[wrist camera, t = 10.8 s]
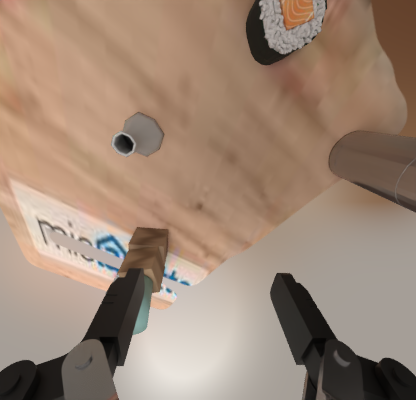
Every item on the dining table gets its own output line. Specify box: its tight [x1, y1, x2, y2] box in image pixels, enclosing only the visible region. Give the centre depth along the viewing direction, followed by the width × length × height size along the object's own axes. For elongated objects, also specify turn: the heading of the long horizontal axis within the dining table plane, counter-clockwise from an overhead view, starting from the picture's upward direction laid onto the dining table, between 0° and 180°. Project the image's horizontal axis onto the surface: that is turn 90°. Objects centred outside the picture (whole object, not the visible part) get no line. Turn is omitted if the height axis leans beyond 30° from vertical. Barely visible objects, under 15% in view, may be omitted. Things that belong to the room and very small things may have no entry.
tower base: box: [128, 227, 168, 266], centre depth 42 cm, size 7×7×6 cm
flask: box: [111, 112, 164, 157], centre depth 29 cm, size 7×7×10 cm
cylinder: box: [133, 276, 153, 335], centre depth 30 cm, size 5×5×7 cm
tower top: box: [118, 246, 165, 293], centre depth 36 cm, size 6×6×6 cm
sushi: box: [246, 0, 327, 65], centre depth 25 cm, size 8×8×8 cm
